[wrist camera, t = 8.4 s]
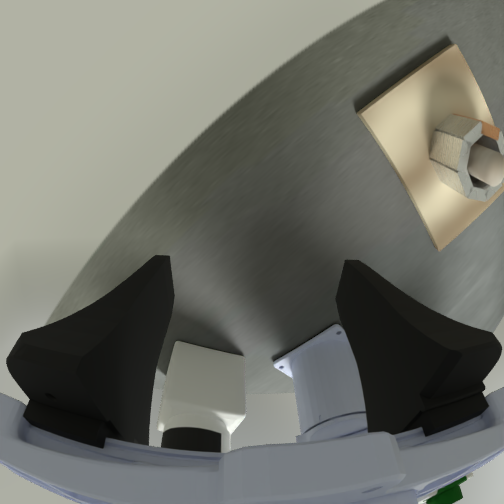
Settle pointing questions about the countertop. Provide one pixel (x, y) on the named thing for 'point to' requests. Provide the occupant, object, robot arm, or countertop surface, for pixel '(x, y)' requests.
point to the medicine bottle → (202, 399)
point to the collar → (463, 154)
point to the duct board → (420, 137)
